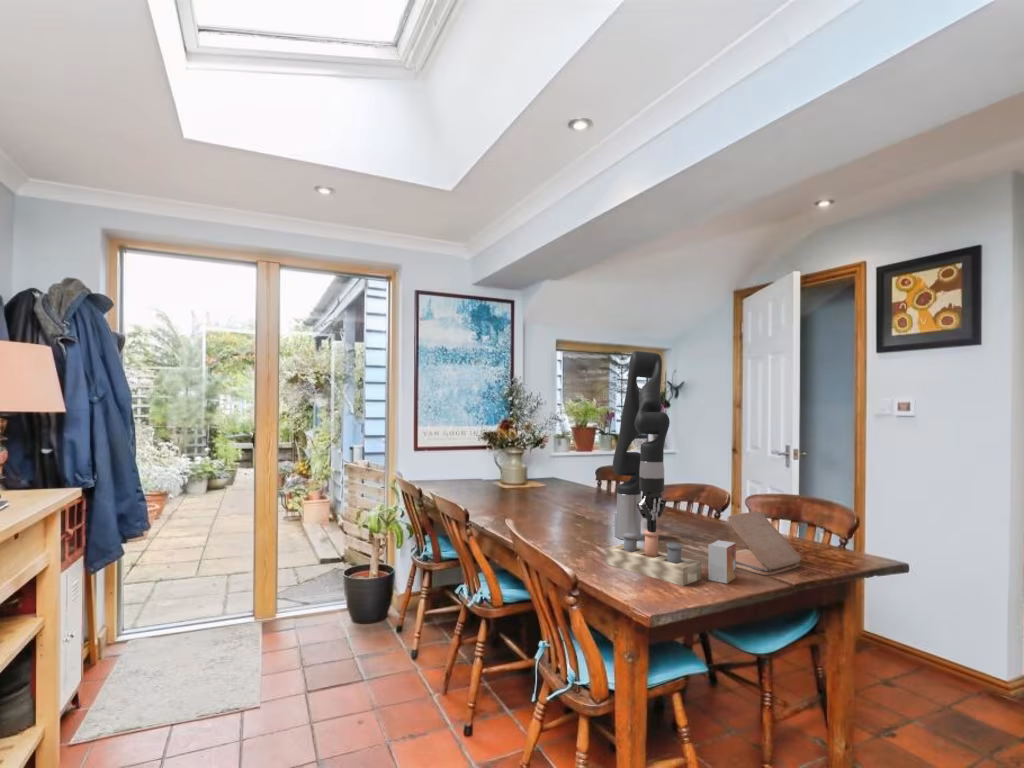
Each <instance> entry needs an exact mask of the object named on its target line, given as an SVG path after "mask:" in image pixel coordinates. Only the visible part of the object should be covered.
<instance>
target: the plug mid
mask: <svg viewBox="0 0 1024 768" xmlns="http://www.w3.org/2000/svg"><path fill="white" fill-rule="evenodd" d="M643 535H644V548H645V556H648V557H652V558H655V557H658V552H659V536H660V531H658V530H656V532H648V530H647V529H645V530H643Z"/></svg>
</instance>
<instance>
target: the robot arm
mask: <svg viewBox="0 0 1024 768" xmlns="http://www.w3.org/2000/svg"><path fill="white" fill-rule="evenodd" d="M662 371H663V361H662V357H661V354H659V353H658V352H650V351H642V350H641V351H640V350H639V351H638V350H634V351H632V353H631V356H630V358H629V364H628V374H627V382H626V383H627V384H626V392H625V396H624V397H625V398H624V402H623V406H622V412H621V420H620V425H619V433H618V439H617V443H616V446H615V447H616V448H615V450H614V455H613V459H612V470H613V474H615V475H616V476H623V477H624V476H625V477H626V476H628V477H630V478H629V479H628V480H627V481H624V482H623V483H620V484H618V485H617V486H616V511H614V537H616V538H617V539H620V540H623V541H624V537H623V534H624V533H634V534H637V535H638V538H637V541H639V540H641V538H642V523H641V522H642V519H645V520H647V521H646V523H647V524H646V528H647V529H646V530H648V532H656V531H657V520H658V518H661V516H662V514H663V512H664V509H665V507H666V504H667V500H666V499H663V495H662V493H664V491H665V465H664V451H665V441H666V438H667V435H668V431H669V428H670V424H671V423H670V418H669V415H668V414H667V413H666V412H664V411H662V407H663V406H662V398H661V386H662ZM637 378H646V379H649V380H648V381H646V383H645V384H644V385H643V386H642V387H641V389H640V388H639V386H638V381H637ZM640 434H641V435H657V436H656V438H655V439H653V440H651V441H644V442H642V443H641V444H640V448H639V449H640V452H638V451H628V449H629V447H630V445H632V443H633V442H634V441H635V440H636V439H637V437H639V435H640Z"/></svg>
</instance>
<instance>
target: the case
mask: <svg viewBox="0 0 1024 768" xmlns="http://www.w3.org/2000/svg"><path fill="white" fill-rule="evenodd" d="M726 519H727V523H728V524H729V525H730V527H731V528H732V529H733V530H734V532H735V533H736V535H738V536H739V538H740V539H741V541H742V542H743V543H744V544H745V546H746V547H747V548H748V549H744V548H743V549H739V550H736V569H737V570H738V569H739V570H742V571H746V572H748V573H752V574H757V575H760V576H764V577H765V576H768V577H769V576H773V575H775V574H780V573H783V572H787V571H790V570H792V569H796V568H799V563H800V562H801V559H802V558H801V556H800V554H799V553H798V552H797V551H796V549H794V547H793V546H792V545H791V544H790V543H789V542H788V541H787V540H786V538H785V537H784V535H782V533H780V531H779V530H778V529H777V528H776V527H775V526H774V525H773V523H771V522H770V520H769V519H768V518H767V517H766V516H765V515H764V514H763V513H761V512H759V511H750V512H742V513H738V514H731V515H729V516H727V518H726Z"/></svg>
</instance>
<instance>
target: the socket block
mask: <svg viewBox="0 0 1024 768" xmlns="http://www.w3.org/2000/svg"><path fill="white" fill-rule="evenodd" d="M605 564H606V565H608V566H611V567H615V568H618V569H622V570H625V571H629V572H632V573H636V574H640V575H643V576H646V577H649V578H654V579H658V580H661V581H665V582H666V583H671V584H674V585H678V586H682V587H684V586H686V585H689V584H692V583H694V582H697V581H700V580H702V562H701V561H699V560H695V559H694V560H693V559H690V558H686V557H683V556H681V563H678V564H675V563H671V562H667V552H662V551H658V557H655V558H652V557H648V556H645V547H640V546H637V551H636V552H628V551H624V543H621V544H617V545H613V546H609V547H605Z"/></svg>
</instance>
